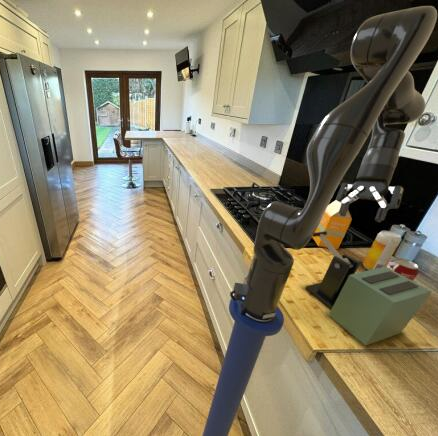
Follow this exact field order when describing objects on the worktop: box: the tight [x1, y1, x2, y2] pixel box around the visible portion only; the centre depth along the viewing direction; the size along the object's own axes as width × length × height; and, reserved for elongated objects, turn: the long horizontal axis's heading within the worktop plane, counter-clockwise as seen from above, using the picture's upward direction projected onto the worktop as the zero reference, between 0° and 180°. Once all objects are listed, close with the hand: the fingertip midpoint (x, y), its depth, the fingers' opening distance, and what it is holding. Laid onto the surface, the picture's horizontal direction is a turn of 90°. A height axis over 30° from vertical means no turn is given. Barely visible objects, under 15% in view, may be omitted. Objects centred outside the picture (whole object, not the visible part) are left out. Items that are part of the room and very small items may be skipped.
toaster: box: [328, 267, 433, 347], centre depth 63 cm, size 10×14×15 cm
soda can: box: [386, 257, 419, 281], centre depth 76 cm, size 7×7×12 cm
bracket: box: [305, 253, 362, 310], centre depth 72 cm, size 10×8×15 cm
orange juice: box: [312, 199, 353, 250], centre depth 102 cm, size 8×9×20 cm
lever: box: [312, 231, 353, 269], centre depth 72 cm, size 13×5×2 cm, turn 17°
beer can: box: [362, 230, 402, 271], centre depth 87 cm, size 6×6×15 cm
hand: (359, 218), depth 71 cm, fingers open, 8 cm apart
